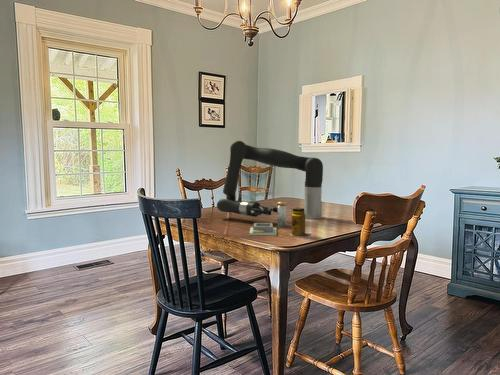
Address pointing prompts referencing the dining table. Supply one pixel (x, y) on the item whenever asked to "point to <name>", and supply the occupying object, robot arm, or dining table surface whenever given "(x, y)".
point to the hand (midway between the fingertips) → (275, 211)
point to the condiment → (298, 223)
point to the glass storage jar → (281, 214)
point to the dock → (263, 229)
